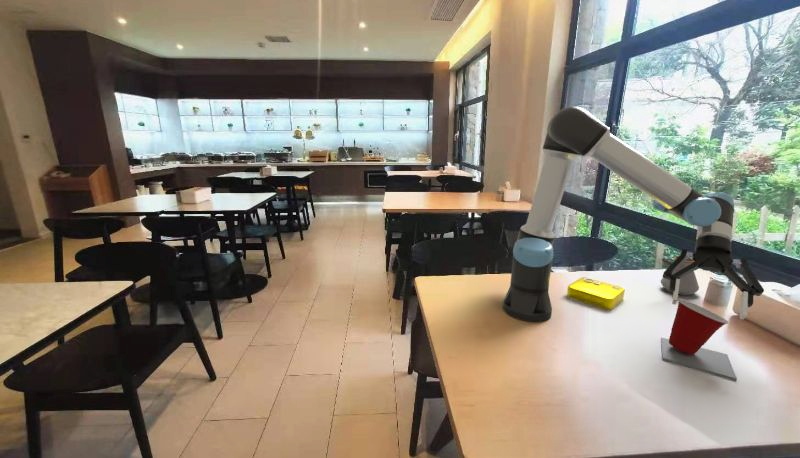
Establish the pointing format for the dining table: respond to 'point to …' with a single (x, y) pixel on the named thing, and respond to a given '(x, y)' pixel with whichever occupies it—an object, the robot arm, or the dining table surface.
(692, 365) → the card
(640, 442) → the dining table surface
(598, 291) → the element tile
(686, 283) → the coffee pot
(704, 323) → the plastic cup
